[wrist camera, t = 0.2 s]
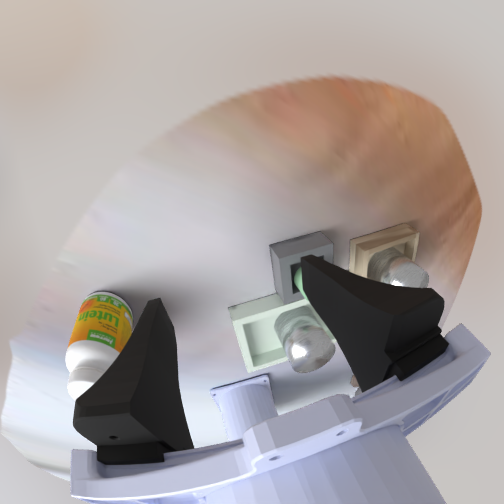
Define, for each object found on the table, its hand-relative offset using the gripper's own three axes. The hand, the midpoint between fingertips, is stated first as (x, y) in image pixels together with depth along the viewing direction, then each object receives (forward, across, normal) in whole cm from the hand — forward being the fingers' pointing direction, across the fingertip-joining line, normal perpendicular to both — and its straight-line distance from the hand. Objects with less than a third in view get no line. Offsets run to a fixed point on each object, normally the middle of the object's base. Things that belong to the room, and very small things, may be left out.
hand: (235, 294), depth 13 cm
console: (+10, -7, +6) cm, 14 cm away
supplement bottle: (+10, +12, +6) cm, 17 cm away
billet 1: (+10, -6, +14) cm, 18 cm away
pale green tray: (+10, -6, +14) cm, 18 cm away
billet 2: (+9, -17, +9) cm, 21 cm away
